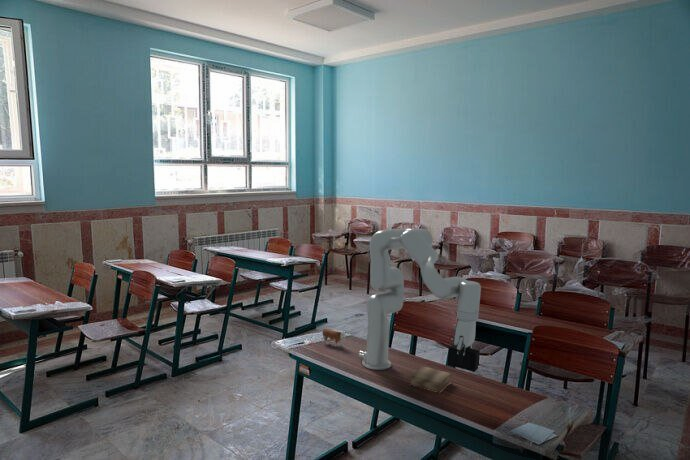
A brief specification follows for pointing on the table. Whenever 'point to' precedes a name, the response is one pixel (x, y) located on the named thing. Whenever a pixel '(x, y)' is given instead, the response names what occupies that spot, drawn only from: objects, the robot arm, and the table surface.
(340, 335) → the bull figurine
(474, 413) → the table surface
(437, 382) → the plinth
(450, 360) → the digital camera
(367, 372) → the table surface
